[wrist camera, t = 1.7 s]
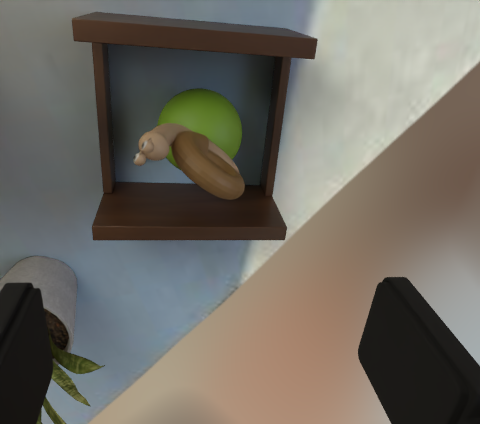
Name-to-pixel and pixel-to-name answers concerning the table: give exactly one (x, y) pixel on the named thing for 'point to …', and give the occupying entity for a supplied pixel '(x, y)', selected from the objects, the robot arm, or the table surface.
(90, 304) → the table surface
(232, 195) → the snail figurine
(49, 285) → the house plant
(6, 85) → the table surface
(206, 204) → the frame
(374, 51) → the table surface
